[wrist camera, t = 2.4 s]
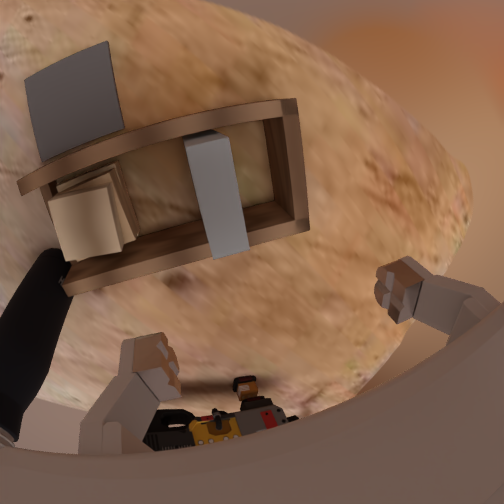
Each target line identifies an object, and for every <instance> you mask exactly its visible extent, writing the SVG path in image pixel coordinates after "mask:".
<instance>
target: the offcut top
mask: <svg viewBox="0 0 504 504" xmlns="http://www.w3.org/2000/svg"><path fill="white" fill-rule="evenodd" d="M48 204H49V208H50V212H51V216H52V220H53V223H54V227H55V230H56V233H57V237H58V240H59V243H60V246H61V249H62V252H63V255H64V258H65V261H71V260H76V259H82V258H87V257H93V256H99V255H104V254H110V253H116V252H121V251H122V248H123V245H124V238H123V234H122V229H121V225H120V221H119V216H118V211H117V207H116V202H115V197H114V192H113V186H112V182H109V183H104V184H100V185H95V186H91V187H86V188H82V189H78V190H74V191H70V192H66V193H62V194H58V195H55V196H54V197H53V198H52V199H50V200H49V201H48Z"/></svg>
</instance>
